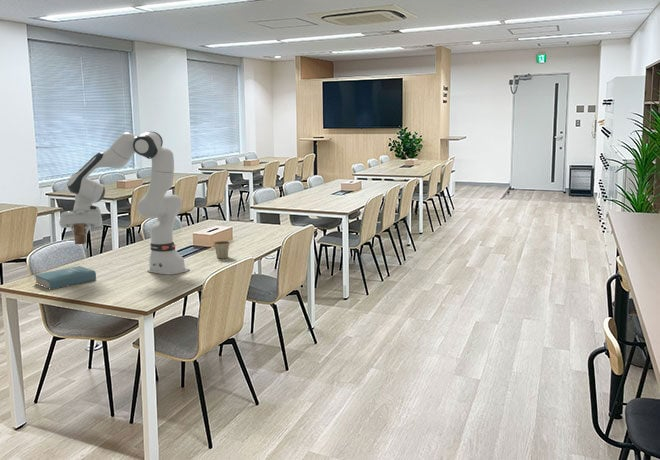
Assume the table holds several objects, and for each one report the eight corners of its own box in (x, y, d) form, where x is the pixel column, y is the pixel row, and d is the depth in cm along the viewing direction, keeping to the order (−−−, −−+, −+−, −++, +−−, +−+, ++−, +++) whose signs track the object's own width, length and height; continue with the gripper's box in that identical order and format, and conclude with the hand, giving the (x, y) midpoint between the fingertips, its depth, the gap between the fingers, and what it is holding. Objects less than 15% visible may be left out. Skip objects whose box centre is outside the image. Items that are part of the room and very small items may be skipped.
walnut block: (86, 242, 308) (84, 223, 306) (84, 244, 304) (82, 224, 302) (77, 242, 308) (75, 223, 306) (75, 244, 303) (73, 224, 301)
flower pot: (210, 258, 343) (209, 243, 341) (220, 254, 351) (220, 240, 350) (223, 259, 339) (223, 244, 337) (233, 256, 347) (233, 241, 345)
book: (80, 275, 307) (79, 266, 307) (96, 280, 297) (95, 271, 296) (35, 284, 291) (34, 274, 290) (50, 290, 280) (49, 280, 279)
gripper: (59, 207, 307) (56, 230, 300) (101, 206, 311) (99, 228, 303) (62, 215, 313) (59, 237, 305) (104, 214, 316) (101, 235, 308)
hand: (79, 233), depth 304 cm, fingers closed on walnut block, 4 cm apart
